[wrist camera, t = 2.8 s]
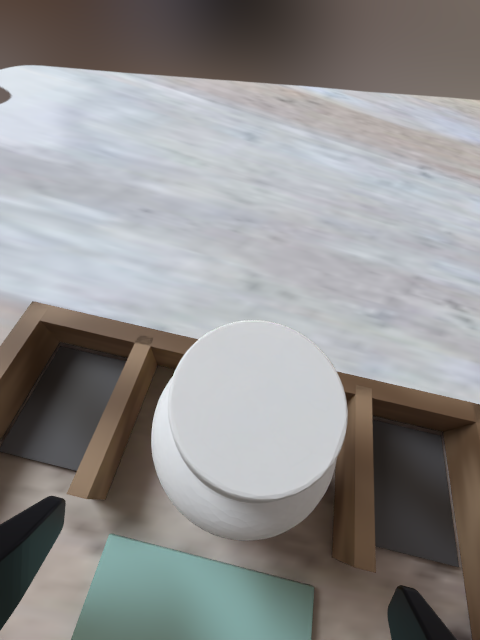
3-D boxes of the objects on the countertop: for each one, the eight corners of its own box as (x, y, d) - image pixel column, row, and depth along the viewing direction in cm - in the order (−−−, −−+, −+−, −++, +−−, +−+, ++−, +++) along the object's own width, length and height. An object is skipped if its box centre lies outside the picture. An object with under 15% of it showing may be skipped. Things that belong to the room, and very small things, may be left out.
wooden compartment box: (563, 1037, 10) (681, 1216, 8) (-245, 788, 11) (-377, 872, 9) (457, 418, 21) (491, 407, 19) (52, 324, 22) (32, 301, 20)
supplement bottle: (306, 468, 19) (442, 421, 8) (221, 554, 16) (244, 665, 5) (239, 385, 21) (269, 260, 10) (155, 449, 19) (76, 373, 8)
